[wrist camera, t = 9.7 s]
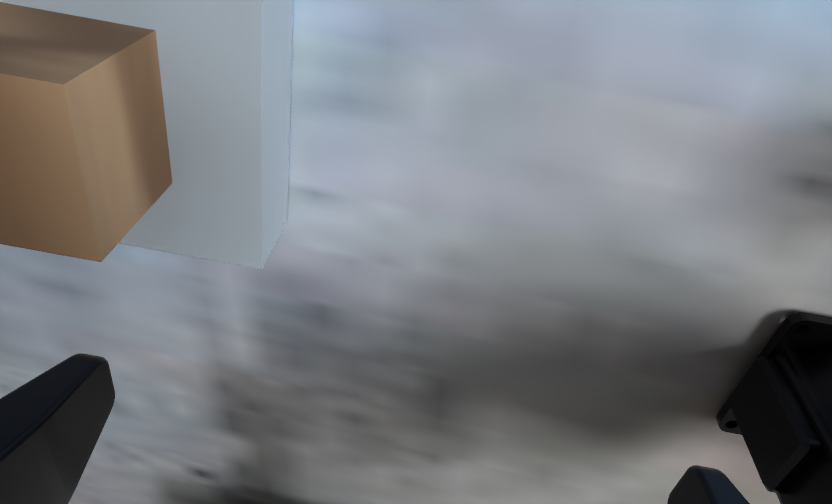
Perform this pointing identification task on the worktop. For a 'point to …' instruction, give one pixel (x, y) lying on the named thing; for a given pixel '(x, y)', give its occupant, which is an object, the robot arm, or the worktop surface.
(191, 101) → the base slab
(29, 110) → the walnut block
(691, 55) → the worktop surface
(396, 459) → the worktop surface
